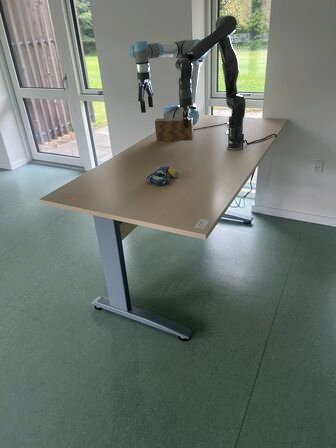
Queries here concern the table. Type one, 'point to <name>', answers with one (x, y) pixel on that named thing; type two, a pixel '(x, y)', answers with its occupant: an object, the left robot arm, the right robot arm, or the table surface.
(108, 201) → the table surface
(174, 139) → the box
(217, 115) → the table surface
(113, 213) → the table surface
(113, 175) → the table surface
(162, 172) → the blue yellow printed carton
